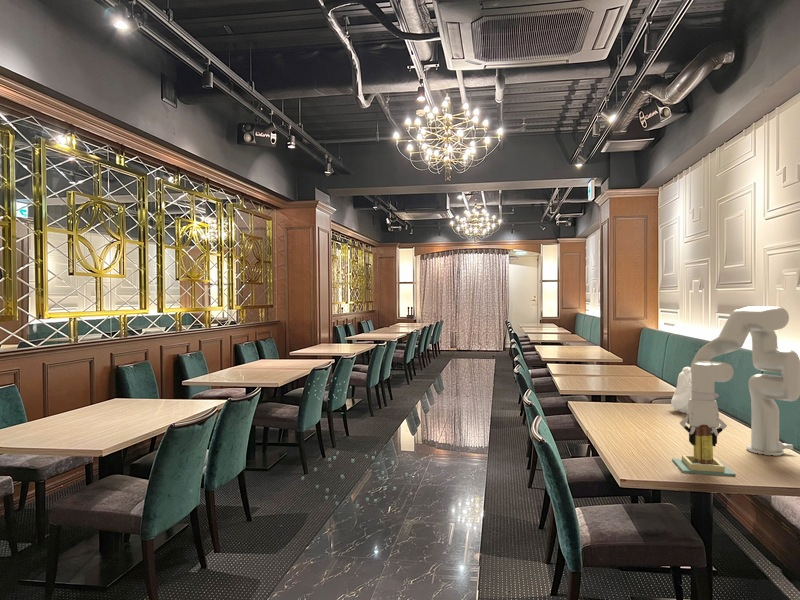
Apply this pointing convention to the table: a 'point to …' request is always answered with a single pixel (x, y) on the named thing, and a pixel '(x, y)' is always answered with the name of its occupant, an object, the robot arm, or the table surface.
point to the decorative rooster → (682, 391)
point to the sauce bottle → (703, 445)
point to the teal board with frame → (702, 466)
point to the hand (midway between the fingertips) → (702, 444)
